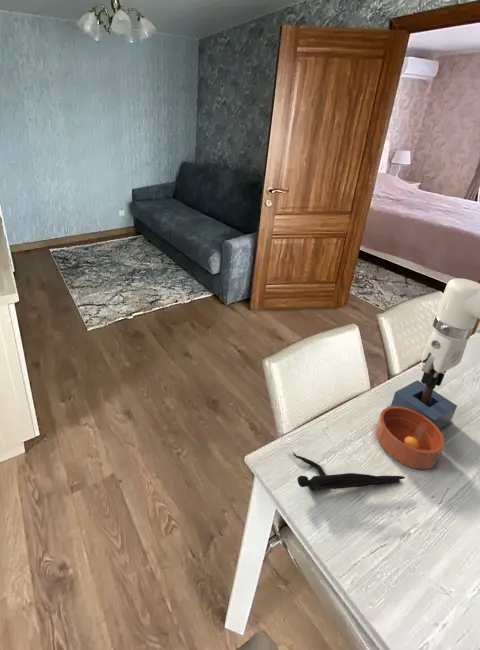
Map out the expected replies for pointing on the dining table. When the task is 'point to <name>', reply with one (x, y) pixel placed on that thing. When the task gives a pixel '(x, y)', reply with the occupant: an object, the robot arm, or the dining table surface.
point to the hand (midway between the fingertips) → (430, 383)
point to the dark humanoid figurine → (342, 479)
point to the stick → (427, 394)
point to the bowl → (409, 424)
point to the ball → (411, 442)
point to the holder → (438, 407)
